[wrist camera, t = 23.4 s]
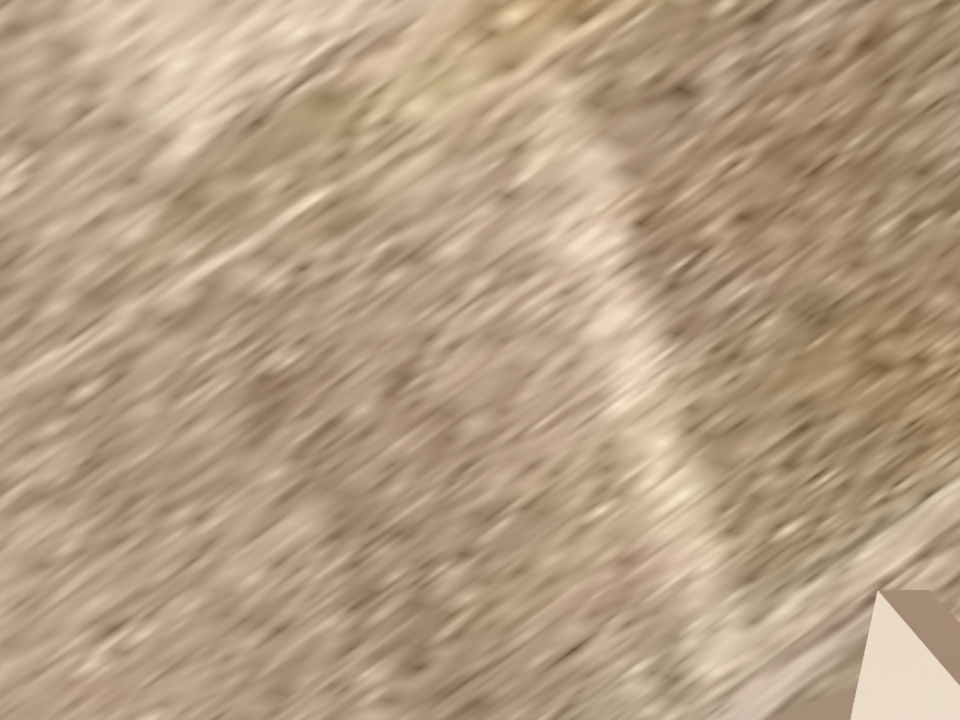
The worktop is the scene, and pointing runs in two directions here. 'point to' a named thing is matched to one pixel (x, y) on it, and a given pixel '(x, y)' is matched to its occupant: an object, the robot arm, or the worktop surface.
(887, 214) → the worktop surface
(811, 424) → the worktop surface
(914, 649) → the robot arm
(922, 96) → the worktop surface
